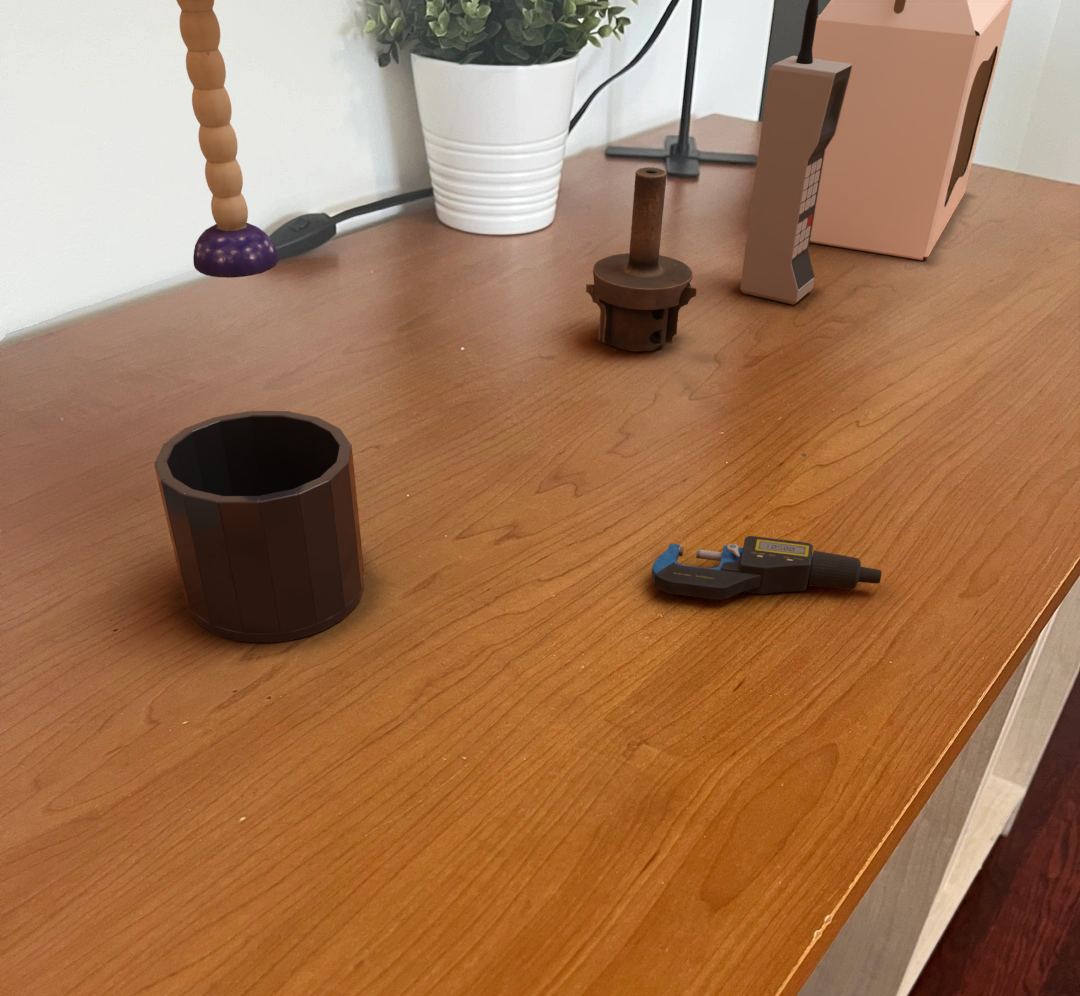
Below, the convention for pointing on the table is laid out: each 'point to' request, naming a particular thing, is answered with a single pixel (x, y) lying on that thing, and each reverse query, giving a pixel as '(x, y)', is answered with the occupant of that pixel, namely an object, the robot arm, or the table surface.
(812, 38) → the vintage mobile phone
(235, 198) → the toy lamp
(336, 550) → the holder
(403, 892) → the table surface
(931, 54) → the gable box
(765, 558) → the micrometer
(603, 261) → the industrial component
